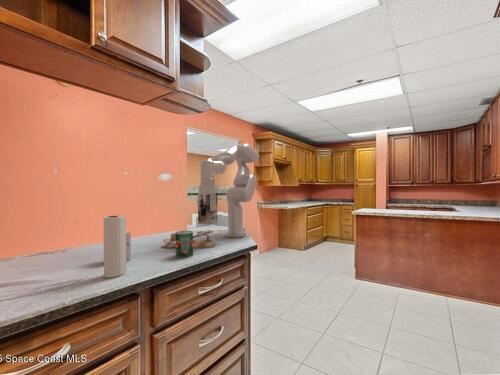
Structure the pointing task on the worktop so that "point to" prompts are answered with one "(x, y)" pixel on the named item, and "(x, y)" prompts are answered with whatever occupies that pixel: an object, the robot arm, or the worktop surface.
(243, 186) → the robot arm
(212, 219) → the coffee box
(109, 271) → the paper towel roll
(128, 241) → the supplement box
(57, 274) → the worktop surface
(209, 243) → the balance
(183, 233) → the canned tomato
